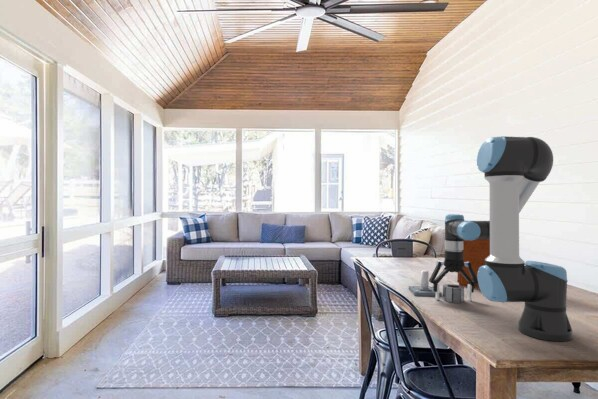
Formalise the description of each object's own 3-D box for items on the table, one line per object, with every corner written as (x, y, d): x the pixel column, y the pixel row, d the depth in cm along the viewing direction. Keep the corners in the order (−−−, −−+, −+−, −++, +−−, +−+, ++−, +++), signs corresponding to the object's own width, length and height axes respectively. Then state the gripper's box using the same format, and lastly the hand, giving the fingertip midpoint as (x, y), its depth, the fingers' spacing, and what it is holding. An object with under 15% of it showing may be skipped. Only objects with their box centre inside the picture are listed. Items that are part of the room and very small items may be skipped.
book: (458, 285, 195) (459, 225, 195) (457, 281, 203) (458, 224, 202) (510, 289, 188) (511, 226, 188) (506, 285, 196) (507, 225, 196)
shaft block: (441, 296, 174) (442, 274, 174) (414, 295, 175) (414, 273, 175) (434, 289, 186) (434, 268, 186) (408, 289, 187) (408, 268, 187)
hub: (466, 303, 164) (466, 288, 164) (446, 302, 164) (446, 288, 164) (459, 297, 172) (459, 284, 172) (440, 297, 172) (441, 283, 172)
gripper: (480, 249, 171) (479, 297, 171) (422, 248, 172) (421, 296, 173) (487, 252, 163) (486, 302, 164) (426, 251, 165) (426, 301, 165)
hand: (453, 299), depth 168 cm, fingers open, 13 cm apart
